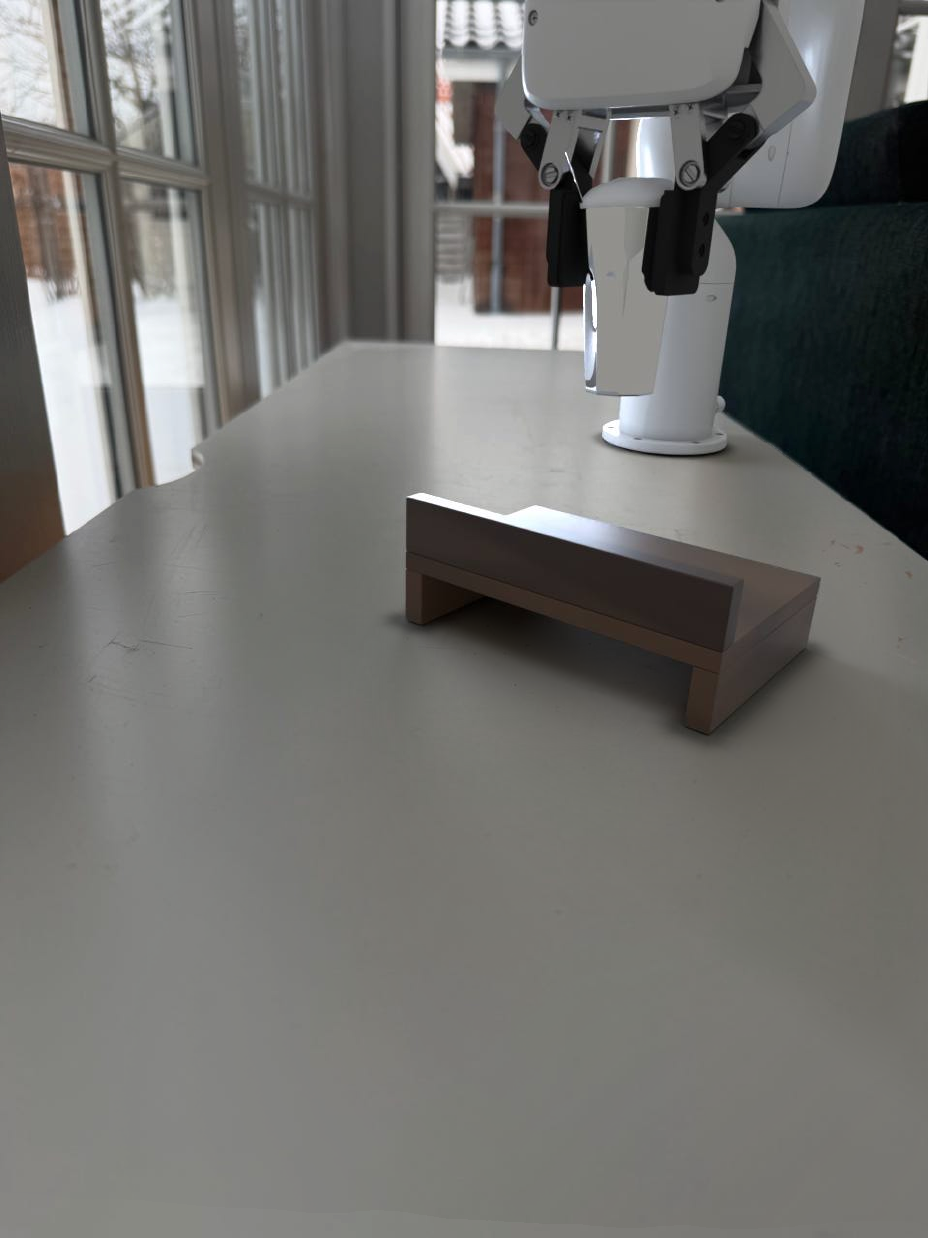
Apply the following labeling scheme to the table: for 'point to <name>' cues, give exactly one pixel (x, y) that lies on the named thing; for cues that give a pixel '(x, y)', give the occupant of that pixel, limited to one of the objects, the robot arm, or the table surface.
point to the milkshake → (621, 285)
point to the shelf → (616, 591)
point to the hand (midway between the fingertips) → (621, 285)
